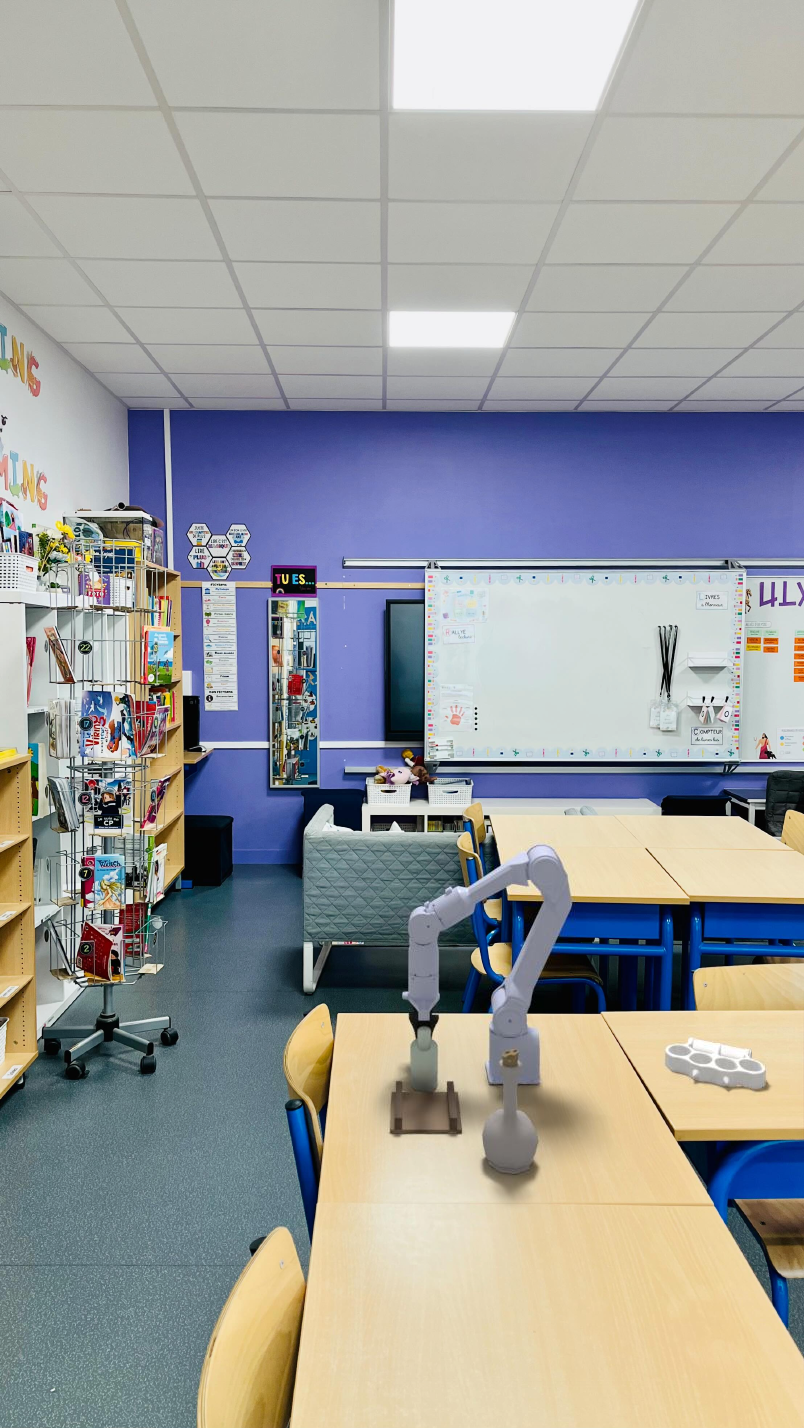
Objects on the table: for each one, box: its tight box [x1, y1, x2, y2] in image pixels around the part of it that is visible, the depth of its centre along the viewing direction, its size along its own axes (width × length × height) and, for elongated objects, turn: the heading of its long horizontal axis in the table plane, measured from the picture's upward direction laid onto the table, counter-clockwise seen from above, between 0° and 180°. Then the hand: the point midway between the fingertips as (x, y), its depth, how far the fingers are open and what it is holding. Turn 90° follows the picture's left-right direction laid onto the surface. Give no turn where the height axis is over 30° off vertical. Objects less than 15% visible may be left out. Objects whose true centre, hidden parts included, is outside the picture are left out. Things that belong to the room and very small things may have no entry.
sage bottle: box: [409, 1026, 439, 1092], centre depth 152 cm, size 5×5×12 cm
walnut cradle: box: [389, 1080, 463, 1134], centre depth 145 cm, size 12×12×3 cm
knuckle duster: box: [664, 1037, 767, 1090], centre depth 160 cm, size 3×18×15 cm
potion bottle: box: [481, 1049, 539, 1175], centre depth 131 cm, size 9×9×18 cm
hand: (423, 1041), depth 159 cm, fingers open, 7 cm apart
